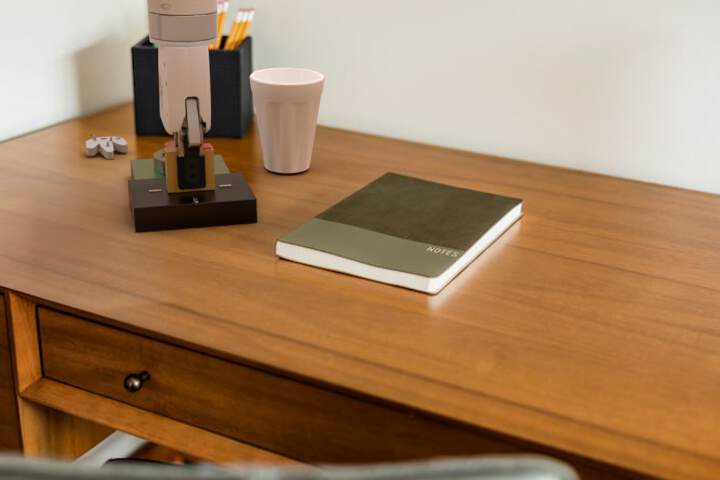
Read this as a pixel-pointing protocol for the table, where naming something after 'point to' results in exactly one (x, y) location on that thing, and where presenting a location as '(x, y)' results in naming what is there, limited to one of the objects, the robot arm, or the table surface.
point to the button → (170, 144)
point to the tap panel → (191, 204)
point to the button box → (157, 166)
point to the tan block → (172, 169)
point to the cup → (287, 115)
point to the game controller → (106, 146)
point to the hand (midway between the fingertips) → (190, 183)
